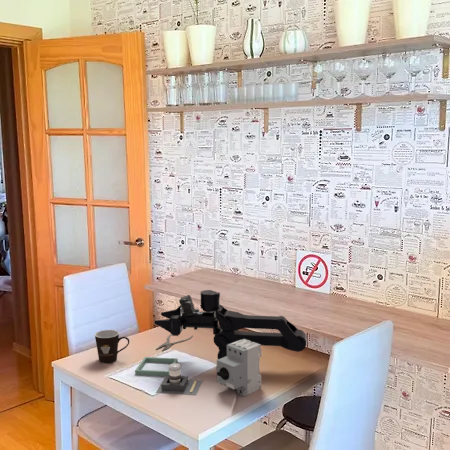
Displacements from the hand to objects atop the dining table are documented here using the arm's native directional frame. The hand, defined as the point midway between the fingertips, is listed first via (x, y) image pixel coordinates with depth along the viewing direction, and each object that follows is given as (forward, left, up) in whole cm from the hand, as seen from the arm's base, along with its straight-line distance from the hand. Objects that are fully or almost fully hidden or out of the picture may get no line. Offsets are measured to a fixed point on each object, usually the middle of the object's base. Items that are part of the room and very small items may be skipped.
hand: (157, 318), depth 205 cm
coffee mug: (+18, +1, -17) cm, 24 cm away
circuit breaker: (-31, +20, -17) cm, 41 cm away
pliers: (-1, -20, -17) cm, 26 cm away
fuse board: (-12, +21, -17) cm, 29 cm away
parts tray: (-1, +8, -16) cm, 18 cm away
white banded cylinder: (-11, +21, -16) cm, 28 cm away
